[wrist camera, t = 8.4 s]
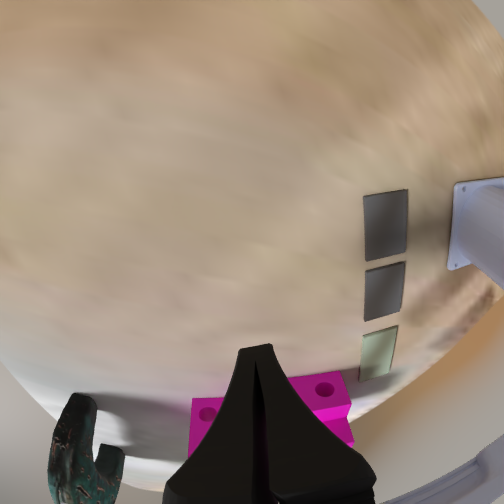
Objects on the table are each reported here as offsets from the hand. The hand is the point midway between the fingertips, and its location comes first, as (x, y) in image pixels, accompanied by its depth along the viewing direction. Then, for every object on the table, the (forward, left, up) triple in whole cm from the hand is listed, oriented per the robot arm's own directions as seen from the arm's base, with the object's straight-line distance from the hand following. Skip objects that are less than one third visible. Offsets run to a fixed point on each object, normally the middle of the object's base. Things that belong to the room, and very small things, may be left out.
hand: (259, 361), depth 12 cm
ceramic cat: (+26, +22, -10) cm, 35 cm away
